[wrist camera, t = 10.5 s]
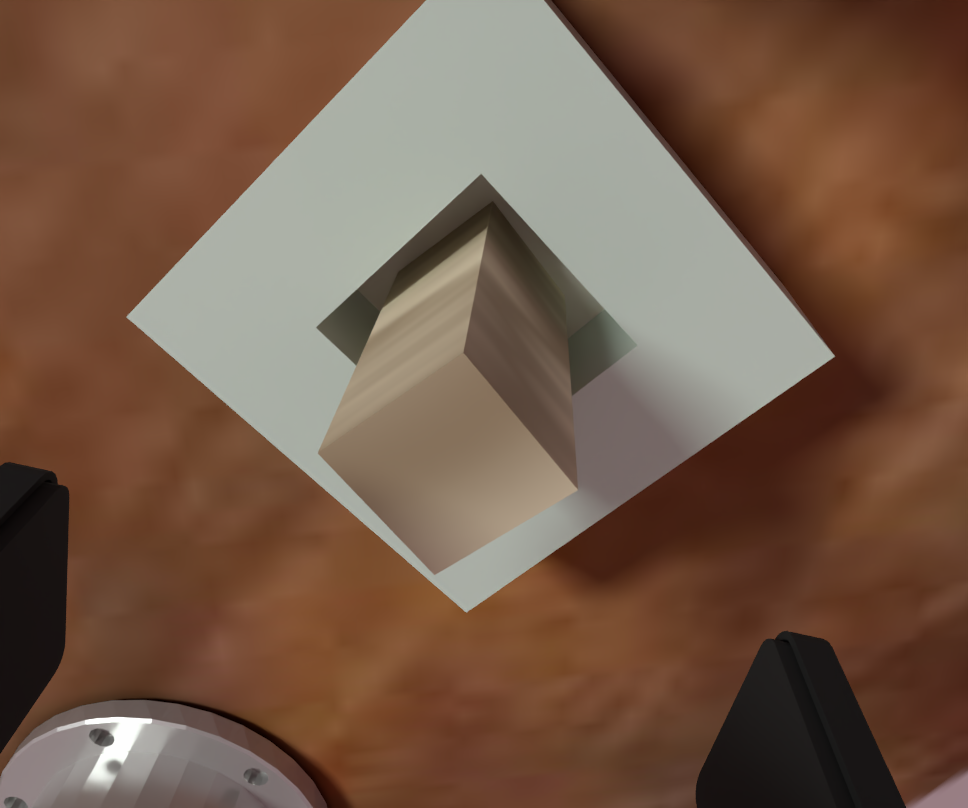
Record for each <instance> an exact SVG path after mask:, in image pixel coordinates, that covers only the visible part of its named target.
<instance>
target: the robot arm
mask: <svg viewBox="0 0 968 808" xmlns="http://www.w3.org/2000/svg"><path fill="white" fill-rule="evenodd" d="M68 523H69V491H68V488H67V487H66V486H63V485H58V483H57V477H56V475H55V473H53V472H52V471H47V470H43V469H38V468H34V467H29V466H24V465H20V464H15V463H11V462H8V463H4V464H3V465H1V466H0V753H1V752H2V750H3V749H4V747H5V746H6V744H7V743H8V741H9V740H10V739H11V737H12V736H13V734H14V733H15V731H16V730H17V728H18V727H19V725H20V724H21V722H22V721H23V719H24V718H25V716H26V715H27V714H28V712H29V711H30V709H31V708H32V706H33V705H34V703H35V702H36V700H37V699H38V697H39V696H40V694H41V693H42V691H43V690H44V689H45V687H46V686H47V684H48V683H49V681H50V680H51V678H52V677H53V675H54V674H55V672H56V670H57V669H58V666H59V664H60V662H61V659H62V656H63V652H64V648H65V631H66V595H67V559H68ZM696 804H697V808H906V806H905V804H904V802H903V800H902V798H901V795H900V793H899V791H898V789H897V787H896V785H895V782H894V780H893V778H892V776H891V774H890V772H889V769H888V767H887V765H886V763H885V761H884V759H883V757H882V754H881V752H880V750H879V748H878V746H877V744H876V741H875V739H874V737H873V735H872V733H871V731H870V728H869V726H868V724H867V722H866V720H865V718H864V715H863V713H862V711H861V709H860V707H859V705H858V702H857V700H856V698H855V696H854V694H853V691H852V689H851V687H850V685H849V683H848V681H847V678H846V676H845V674H844V672H843V670H842V668H841V665H840V663H839V661H838V659H837V657H836V655H835V652H834V650H833V648H832V646H831V645H830V643H829V642H828V641H826V640H824V639H821V638H816V637H811V636H807V635H802V634H798V633H793V632H788V631H784V632H781V633H780V634H779V635H778V636H777V637H776V639H775V640H774V639H766V640H765V641H764V642H763V644H762V645H761V647H760V649H759V651H758V653H757V655H756V657H755V659H754V662H753V664H752V666H751V668H750V670H749V672H748V674H747V676H746V678H745V680H744V682H743V684H742V686H741V689H740V691H739V693H738V695H737V697H736V699H735V701H734V703H733V705H732V707H731V709H730V711H729V713H728V716H727V718H726V720H725V722H724V724H723V726H722V728H721V730H720V732H719V734H718V736H717V738H716V740H715V742H714V745H713V747H712V749H711V751H710V753H709V755H708V757H707V759H706V761H705V763H704V765H703V767H702V769H701V772H700V774H699V777H698V780H697V785H696ZM0 808H327V804H326V802H325V800H324V799H323V797H322V795H321V794H320V792H319V790H318V788H317V787H316V785H315V783H314V782H313V781H312V779H311V778H310V777H309V776H308V775H307V774H306V773H305V772H304V770H303V769H302V768H301V767H300V766H299V765H298V764H297V763H296V762H295V761H294V760H293V759H292V758H291V757H290V756H288V755H287V754H286V753H285V752H283V751H282V750H281V749H280V748H278V747H277V746H276V745H275V744H273V743H272V742H271V741H269V740H268V739H266V738H264V737H262V736H261V735H259V734H257V733H255V732H254V731H252V730H250V729H248V728H247V727H245V726H243V725H241V724H239V723H236V722H234V721H231V720H229V719H226V718H224V717H221V716H219V715H217V714H214V713H212V712H208V711H204V710H200V709H196V708H193V707H189V706H185V705H181V704H176V703H167V702H159V701H151V700H111V701H106V702H100V703H94V704H88V705H83V706H79V707H77V708H74V709H71V710H69V711H66V712H63V713H60V714H58V715H55V716H54V717H52V718H51V719H49V720H47V721H46V722H44V723H43V724H41V725H40V726H38V727H37V728H35V729H34V730H33V731H32V732H31V733H30V734H29V735H28V736H27V737H26V739H25V740H24V741H23V742H22V743H21V744H20V745H19V747H18V748H17V750H16V751H15V753H14V755H13V756H12V758H11V759H10V761H9V763H8V764H7V766H6V767H5V769H4V770H3V772H2V775H1V778H0Z"/></svg>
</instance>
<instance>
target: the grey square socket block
mask: <svg viewBox="0 0 968 808" xmlns="http://www.w3.org/2000/svg"><path fill="white" fill-rule="evenodd" d="M492 201H493V202H494V203H495V204H496V206H497V207H498V208H499V210H500V211H501V212H502V214H503V215H504V216H505V218H506V219H507V220H508V222H509V223H510V224H511V225H512V227H513V228H514V229H515V231H516V232H517V233H518V235H519V236H520V237H521V239H522V240H523V241H524V243H525V244H526V245H527V247H528V248H529V249H530V250H531V252H532V253H533V254H534V256H535V257H536V258H537V260H538V261H539V262H540V264H541V265H542V266H543V268H544V269H545V270H546V271H547V273H548V274H549V275H550V277H551V278H552V279H553V281H554V282H555V283H556V285H557V286H558V287H559V289H560V290H561V291H562V293H563V294H564V295H565V305H566V320H567V334H568V349H569V363H570V378H571V393H572V407H573V422H574V436H575V451H576V466H577V480H578V490H577V491H576V492H574V493H572V494H571V495H569V496H567V497H566V498H564V499H562V500H561V501H559V502H557V503H556V504H554V505H552V506H551V507H549V508H547V509H545V510H544V511H542V512H540V513H539V514H537V515H535V516H534V517H532V518H530V519H529V520H527V521H525V522H524V523H522V524H520V525H519V526H517V527H515V528H513V529H512V530H510V531H508V532H507V533H505V534H503V535H502V536H500V537H498V538H497V539H495V540H493V541H492V542H490V543H488V544H487V545H485V546H483V547H481V548H480V549H478V550H476V551H475V552H473V553H471V554H470V555H468V556H466V557H465V558H463V559H461V560H460V561H458V562H456V563H455V564H453V565H451V566H449V567H448V568H446V569H444V570H443V571H441V572H439V573H438V574H436V575H434V574H433V573H432V572H431V571H430V570H429V569H428V568H427V567H426V566H425V565H424V564H423V563H422V562H421V561H420V560H419V559H418V558H417V557H416V555H415V554H414V553H413V552H412V551H411V550H410V549H409V548H408V547H407V546H406V545H405V544H404V543H403V542H402V541H401V540H400V539H399V538H398V537H397V536H396V535H395V534H394V533H393V531H392V530H391V529H390V528H389V527H388V526H387V525H386V524H385V523H384V522H383V521H382V520H381V519H380V518H379V517H378V516H377V515H376V514H375V513H374V512H373V511H372V510H371V509H370V508H369V506H368V505H367V504H366V503H365V502H364V501H363V500H362V499H361V498H360V497H359V496H358V495H357V494H356V493H355V492H354V491H353V490H352V489H351V488H350V487H349V486H348V485H347V484H346V483H345V481H344V480H343V479H342V478H341V477H340V476H339V475H338V474H337V473H336V472H335V471H334V470H333V469H332V468H331V467H330V466H329V465H328V464H327V463H326V462H325V461H324V460H323V459H322V457H321V456H320V455H319V454H318V451H319V449H320V447H321V444H322V442H323V440H324V438H325V435H326V433H327V431H328V429H329V426H330V424H331V422H332V420H333V417H334V415H335V413H336V411H337V408H338V406H339V404H340V402H341V399H342V397H343V395H344V393H345V390H346V388H347V386H348V384H349V381H350V379H351V377H352V375H353V372H354V370H355V368H356V366H357V363H358V361H359V359H360V357H361V354H362V352H363V350H364V348H365V345H366V343H367V341H368V339H369V336H370V334H371V332H372V330H373V327H374V325H375V323H376V321H377V318H378V316H379V314H380V312H381V309H382V307H383V305H384V303H385V300H386V298H387V296H388V294H389V292H390V289H391V287H392V285H393V283H394V280H395V278H396V276H397V274H398V272H399V271H400V270H401V269H403V268H404V267H405V266H407V265H408V264H409V263H411V262H412V261H413V260H415V259H416V258H417V257H419V256H420V255H421V254H423V253H424V252H425V251H427V250H428V249H429V248H431V247H432V246H433V245H435V244H436V243H437V242H439V241H440V240H441V239H443V238H444V237H445V236H447V235H448V234H449V233H451V232H452V231H453V230H455V229H456V228H457V227H459V226H460V225H461V224H463V223H464V222H465V221H467V220H468V219H469V218H471V217H472V216H473V215H475V214H476V213H477V212H479V211H480V210H481V209H483V208H484V207H485V206H487V205H488V204H489V203H491V202H492ZM127 318H128V319H129V320H131V321H132V322H133V323H134V324H135V325H136V326H137V327H139V328H140V329H141V330H142V331H143V332H144V333H145V334H147V335H148V336H149V337H150V338H151V339H152V340H154V341H155V342H156V343H157V344H158V345H159V346H160V347H162V348H163V349H164V350H165V351H166V352H167V353H168V354H170V355H171V356H172V357H173V358H174V359H175V360H177V361H178V362H179V363H180V364H181V365H182V366H183V367H185V368H186V369H187V370H188V371H189V372H190V373H191V374H193V375H194V376H195V377H196V378H197V379H198V380H200V381H201V382H202V383H203V384H204V385H205V386H206V387H208V388H209V389H210V390H211V391H212V392H213V393H214V394H216V395H217V396H218V397H219V398H220V399H221V400H223V401H224V402H225V403H226V404H227V405H228V406H229V407H231V408H232V409H233V410H234V411H235V412H236V413H237V414H239V415H240V416H241V417H242V418H243V419H244V420H246V421H247V422H248V423H249V424H250V425H251V426H252V427H254V428H255V429H256V430H257V431H258V432H259V433H260V434H262V435H263V436H264V437H265V438H266V439H267V440H269V441H270V442H271V443H272V444H273V445H274V446H275V447H277V448H278V449H279V450H280V451H281V452H282V453H283V454H285V455H286V456H287V457H288V458H289V459H290V460H292V461H293V462H294V463H295V464H296V465H297V466H298V467H300V468H301V469H302V470H303V471H304V472H305V473H306V474H308V475H309V476H310V477H311V478H312V479H313V480H315V481H316V482H317V483H318V484H319V485H320V486H321V487H323V488H324V489H325V490H326V491H327V492H328V493H329V494H331V495H332V496H333V497H334V498H335V499H336V500H338V501H339V502H340V503H341V504H342V505H343V506H344V507H346V508H347V509H348V510H349V511H350V512H351V513H352V514H354V515H355V516H356V517H357V518H358V519H359V520H361V521H362V522H363V523H364V524H365V525H366V526H367V527H369V528H370V529H371V530H372V531H373V532H374V533H375V534H377V535H378V536H379V537H380V538H381V539H382V540H384V541H385V542H386V543H387V544H388V545H389V546H390V547H392V548H393V549H394V550H395V551H396V552H397V553H398V554H400V555H401V556H402V557H403V558H404V559H405V560H407V561H408V562H409V563H410V564H411V565H412V566H413V567H415V568H416V569H417V570H418V571H419V572H420V573H421V574H423V575H424V576H425V577H426V578H427V579H428V580H430V581H431V582H432V583H433V584H434V585H435V586H436V587H438V588H439V589H440V590H441V591H442V592H443V593H444V594H446V595H447V596H448V597H449V598H450V599H451V600H453V601H454V602H455V603H456V604H457V605H458V606H459V607H461V608H462V609H463V610H464V611H465V612H468V611H469V610H471V609H472V608H474V607H475V606H476V605H478V604H479V603H481V602H482V601H484V600H485V599H486V598H488V597H489V596H491V595H492V594H494V593H495V592H497V591H498V590H499V589H501V588H502V587H504V586H505V585H507V584H508V583H510V582H511V581H512V580H514V579H515V578H517V577H518V576H520V575H521V574H522V573H524V572H525V571H527V570H528V569H530V568H531V567H533V566H534V565H535V564H537V563H538V562H540V561H541V560H543V559H544V558H546V557H547V556H548V555H550V554H551V553H553V552H554V551H556V550H557V549H558V548H560V547H561V546H563V545H564V544H566V543H567V542H569V541H570V540H571V539H573V538H574V537H576V536H577V535H579V534H580V533H581V532H583V531H584V530H586V529H587V528H589V527H590V526H592V525H593V524H594V523H596V522H597V521H599V520H600V519H602V518H603V517H605V516H606V515H607V514H609V513H610V512H612V511H613V510H615V509H616V508H617V507H619V506H620V505H622V504H623V503H625V502H626V501H628V500H629V499H630V498H632V497H633V496H635V495H636V494H638V493H639V492H641V491H642V490H643V489H645V488H646V487H648V486H649V485H651V484H652V483H653V482H655V481H656V480H658V479H659V478H661V477H662V476H664V475H665V474H666V473H668V472H669V471H671V470H672V469H674V468H675V467H677V466H678V465H679V464H681V463H682V462H684V461H685V460H687V459H688V458H689V457H691V456H692V455H694V454H695V453H697V452H698V451H700V450H701V449H702V448H704V447H705V446H707V445H708V444H710V443H711V442H713V441H714V440H715V439H717V438H718V437H720V436H721V435H723V434H724V433H725V432H727V431H728V430H730V429H731V428H733V427H734V426H736V425H737V424H738V423H740V422H741V421H743V420H744V419H746V418H747V417H749V416H750V415H751V414H753V413H754V412H756V411H757V410H759V409H760V408H761V407H763V406H764V405H766V404H767V403H769V402H770V401H772V400H773V399H774V398H776V397H777V396H779V395H780V394H782V393H783V392H785V391H786V390H787V389H789V388H790V387H792V386H793V385H795V384H796V383H797V382H799V381H800V380H802V379H803V378H805V377H806V376H808V375H809V374H810V373H812V372H813V371H815V370H816V369H818V368H819V367H821V366H822V365H823V364H825V363H826V362H828V361H829V360H831V359H832V358H833V357H835V356H834V354H833V353H832V352H831V350H830V349H829V347H828V346H827V345H826V343H825V342H824V340H823V339H822V338H821V336H820V335H819V334H818V332H817V331H816V329H815V328H814V327H813V325H812V324H811V323H810V321H809V320H808V318H807V317H806V316H805V314H804V313H803V311H802V310H801V309H800V307H799V306H798V305H797V303H796V302H795V300H794V299H793V298H792V296H791V295H790V294H789V292H788V291H787V289H786V288H785V287H784V285H783V284H782V283H781V282H780V280H779V279H778V278H777V277H776V275H775V274H774V273H773V272H772V271H771V269H770V268H769V267H768V266H767V264H766V263H765V262H764V261H763V260H762V258H761V257H760V256H759V255H758V253H757V252H756V251H755V250H754V248H753V247H752V246H751V245H750V244H749V242H748V241H747V240H746V239H745V237H744V236H743V235H742V234H741V233H740V231H739V230H738V229H737V228H736V226H735V225H734V224H733V223H732V221H731V220H730V219H729V218H728V217H727V215H726V214H725V213H724V212H723V210H722V209H721V208H720V207H719V205H718V204H717V203H716V202H715V201H714V199H713V198H712V197H711V196H710V194H709V193H708V192H707V191H706V190H705V188H704V187H703V186H702V185H701V183H700V182H699V181H698V180H697V178H696V177H695V176H694V175H693V174H692V172H691V171H690V170H689V169H688V167H687V166H686V165H685V164H684V163H683V161H682V160H681V159H680V158H679V156H678V155H677V154H676V153H675V151H674V150H673V149H672V148H671V147H670V145H669V144H668V143H667V142H666V140H665V139H664V138H663V137H662V135H661V134H660V133H659V132H658V131H657V129H656V128H655V127H654V126H653V124H652V123H651V122H650V121H649V120H648V118H647V117H646V116H645V115H644V113H643V112H642V111H641V110H640V108H639V107H638V106H637V105H636V104H635V102H634V101H633V100H632V99H631V97H630V96H629V95H628V94H627V93H626V91H625V90H624V89H623V88H622V86H621V85H620V84H619V83H618V81H617V80H616V79H615V78H614V77H613V75H612V74H611V73H610V72H609V70H608V69H607V68H606V67H605V66H604V64H603V63H602V62H601V61H600V59H599V58H598V57H597V56H596V54H595V53H594V52H593V51H592V50H591V48H590V47H589V46H588V45H587V43H586V42H585V41H584V40H583V38H582V37H581V36H580V35H579V34H578V32H577V31H576V30H575V29H574V27H573V26H572V25H571V24H570V23H569V21H568V20H567V19H566V18H565V16H564V15H563V14H562V13H561V11H560V10H559V9H558V8H557V7H556V5H555V4H554V3H553V2H552V0H426V1H425V2H424V3H423V4H422V5H421V6H420V7H419V9H418V10H417V11H416V12H415V13H414V14H413V15H412V16H411V17H410V18H409V19H408V20H407V21H406V22H405V23H404V24H403V25H402V26H401V28H400V29H399V30H398V31H397V32H396V33H395V34H394V35H393V36H392V37H391V38H390V39H389V40H388V41H387V42H386V43H385V44H384V45H383V47H382V48H381V49H380V50H379V51H378V52H377V53H376V54H375V55H374V56H373V57H372V58H371V59H370V60H369V61H368V62H367V63H366V64H365V66H364V67H363V68H362V69H361V70H360V71H359V72H358V73H357V74H356V75H355V76H354V77H353V78H352V79H351V80H350V81H349V82H348V83H347V85H346V86H345V87H344V88H343V89H342V90H341V91H340V92H339V93H338V94H337V95H336V96H335V97H334V98H333V99H332V100H331V101H330V102H329V104H328V105H327V106H326V107H325V108H324V109H323V110H322V111H321V112H320V113H319V114H318V115H317V116H316V117H315V118H314V119H313V120H312V121H311V123H310V124H309V125H308V126H307V127H306V128H305V129H304V130H303V131H302V132H301V133H300V134H299V135H298V136H297V137H296V138H295V139H294V140H293V142H292V143H291V144H290V145H289V146H288V147H287V148H286V149H285V150H284V151H283V152H282V153H281V154H280V155H279V156H278V157H277V158H276V159H275V161H274V162H273V163H272V164H271V165H270V166H269V167H268V168H267V169H266V170H265V171H264V172H263V173H262V174H261V175H260V176H259V177H258V178H257V180H256V181H255V182H254V183H253V184H252V185H251V186H250V187H249V188H248V189H247V190H246V191H245V192H244V193H243V194H242V195H241V196H240V197H239V199H238V200H237V201H236V202H235V203H234V204H233V205H232V206H231V207H230V208H229V209H228V210H227V211H226V212H225V213H224V214H223V215H222V217H221V218H220V219H219V220H218V221H217V222H216V223H215V224H214V225H213V226H212V227H211V228H210V229H209V230H208V231H207V232H206V233H205V234H204V236H203V237H202V238H201V239H200V240H199V241H198V242H197V243H196V244H195V245H194V246H193V247H192V248H191V249H190V250H189V251H188V252H187V253H186V255H185V256H184V257H183V258H182V259H181V260H180V261H179V262H178V263H177V264H176V265H175V266H174V267H173V268H172V269H171V270H170V271H169V272H168V274H167V275H166V276H165V277H164V278H163V279H162V280H161V281H160V282H159V283H158V284H157V285H156V286H155V287H154V288H153V289H152V290H151V291H150V293H149V294H148V295H147V296H146V297H145V298H144V299H143V300H142V301H141V302H140V303H139V304H138V305H137V306H136V307H135V308H134V309H133V310H132V312H131V313H130V314H129V315H128V316H127Z"/></svg>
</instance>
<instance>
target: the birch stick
mask: <svg viewBox="0 0 968 808" xmlns="http://www.w3.org/2000/svg"><path fill="white" fill-rule="evenodd" d="M318 454H319V455H320V456H321V457H322V459H323V460H324V461H325V462H326V463H327V464H328V465H329V466H330V467H331V468H332V469H333V470H334V471H335V472H336V473H337V474H338V475H339V476H340V477H341V478H342V479H343V480H344V481H345V483H346V484H347V485H348V486H349V487H350V488H351V489H352V490H353V491H354V492H355V493H356V494H357V495H358V496H359V497H360V498H361V499H362V500H363V501H364V502H365V503H366V504H367V505H368V506H369V508H370V509H371V510H372V511H373V512H374V513H375V514H376V515H377V516H378V517H379V518H380V519H381V520H382V521H383V522H384V523H385V524H386V525H387V526H388V527H389V528H390V529H391V530H392V531H393V533H394V534H395V535H396V536H397V537H398V538H399V539H400V540H401V541H402V542H403V543H404V544H405V545H406V546H407V547H408V548H409V549H410V550H411V551H412V552H413V553H414V554H415V555H416V557H417V558H418V559H419V560H420V561H421V562H422V563H423V564H424V565H425V566H426V567H427V568H428V569H429V570H430V571H431V572H432V573H433V574H434V575H436V574H438V573H439V572H441V571H443V570H444V569H446V568H448V567H449V566H451V565H453V564H455V563H456V562H458V561H460V560H461V559H463V558H465V557H466V556H468V555H470V554H471V553H473V552H475V551H476V550H478V549H480V548H481V547H483V546H485V545H487V544H488V543H490V542H492V541H493V540H495V539H497V538H498V537H500V536H502V535H503V534H505V533H507V532H508V531H510V530H512V529H513V528H515V527H517V526H519V525H520V524H522V523H524V522H525V521H527V520H529V519H530V518H532V517H534V516H535V515H537V514H539V513H540V512H542V511H544V510H545V509H547V508H549V507H551V506H552V505H554V504H556V503H557V502H559V501H561V500H562V499H564V498H566V497H567V496H569V495H571V494H572V493H574V492H576V491H577V490H578V480H577V466H576V451H575V436H574V422H573V407H572V393H571V378H570V363H569V349H568V334H567V320H566V305H565V295H564V294H563V293H562V291H561V290H560V289H559V287H558V286H557V285H556V283H555V282H554V281H553V279H552V278H551V277H550V275H549V274H548V273H547V271H546V270H545V269H544V268H543V266H542V265H541V264H540V262H539V261H538V260H537V258H536V257H535V256H534V254H533V253H532V252H531V250H530V249H529V248H528V247H527V245H526V244H525V243H524V241H523V240H522V239H521V237H520V236H519V235H518V233H517V232H516V231H515V229H514V228H513V227H512V225H511V224H510V223H509V222H508V220H507V219H506V218H505V216H504V215H503V214H502V212H501V211H500V210H499V208H498V207H497V206H496V204H495V203H494V202H493V201H492V202H491V203H489V204H488V205H487V206H485V207H484V208H483V209H481V210H480V211H479V212H477V213H476V214H475V215H473V216H472V217H471V218H469V219H468V220H467V221H465V222H464V223H463V224H461V225H460V226H459V227H457V228H456V229H455V230H453V231H452V232H451V233H449V234H448V235H447V236H445V237H444V238H443V239H441V240H440V241H439V242H437V243H436V244H435V245H433V246H432V247H431V248H429V249H428V250H427V251H425V252H424V253H423V254H421V255H420V256H419V257H417V258H416V259H415V260H413V261H412V262H411V263H409V264H408V265H407V266H405V267H404V268H403V269H401V270H400V271H399V272H398V274H397V276H396V278H395V280H394V283H393V285H392V287H391V289H390V292H389V294H388V296H387V298H386V300H385V303H384V305H383V307H382V309H381V312H380V314H379V316H378V318H377V321H376V323H375V325H374V327H373V330H372V332H371V334H370V336H369V339H368V341H367V343H366V345H365V348H364V350H363V352H362V354H361V357H360V359H359V361H358V363H357V366H356V368H355V370H354V372H353V375H352V377H351V379H350V381H349V384H348V386H347V388H346V390H345V393H344V395H343V397H342V399H341V402H340V404H339V406H338V408H337V411H336V413H335V415H334V417H333V420H332V422H331V424H330V426H329V429H328V431H327V433H326V435H325V438H324V440H323V442H322V444H321V447H320V449H319V451H318Z"/></svg>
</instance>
